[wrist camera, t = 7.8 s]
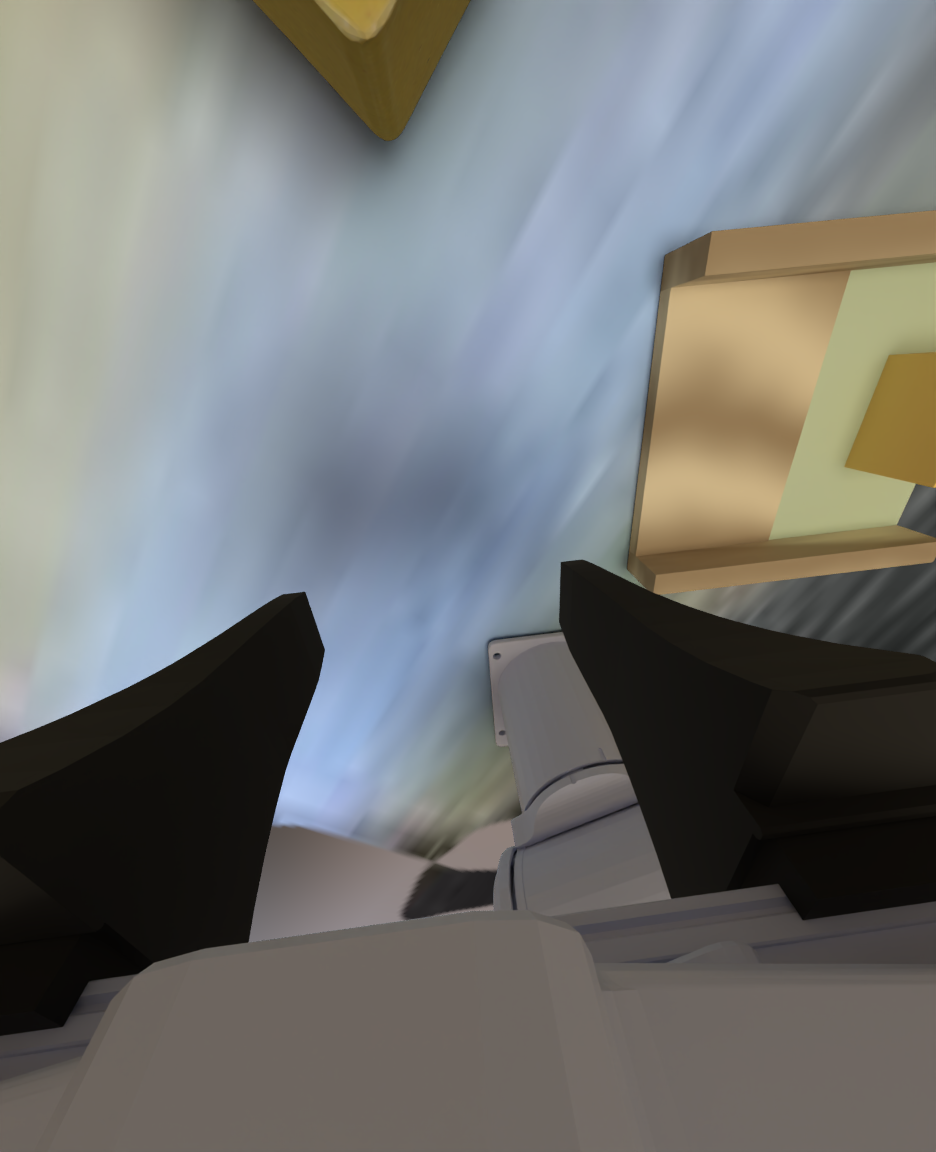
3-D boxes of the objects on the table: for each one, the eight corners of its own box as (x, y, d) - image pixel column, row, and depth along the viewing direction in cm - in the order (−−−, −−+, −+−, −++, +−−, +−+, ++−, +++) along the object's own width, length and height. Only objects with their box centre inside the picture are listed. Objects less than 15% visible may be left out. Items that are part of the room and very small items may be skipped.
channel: (875, 539, 23) (932, 562, 20) (627, 568, 22) (652, 595, 20) (1018, 221, 16) (1133, 191, 13) (665, 254, 16) (711, 231, 13)
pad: (883, 520, 22) (896, 525, 22) (757, 535, 22) (766, 540, 21) (1001, 257, 17) (1023, 253, 16) (833, 274, 16) (848, 270, 16)
